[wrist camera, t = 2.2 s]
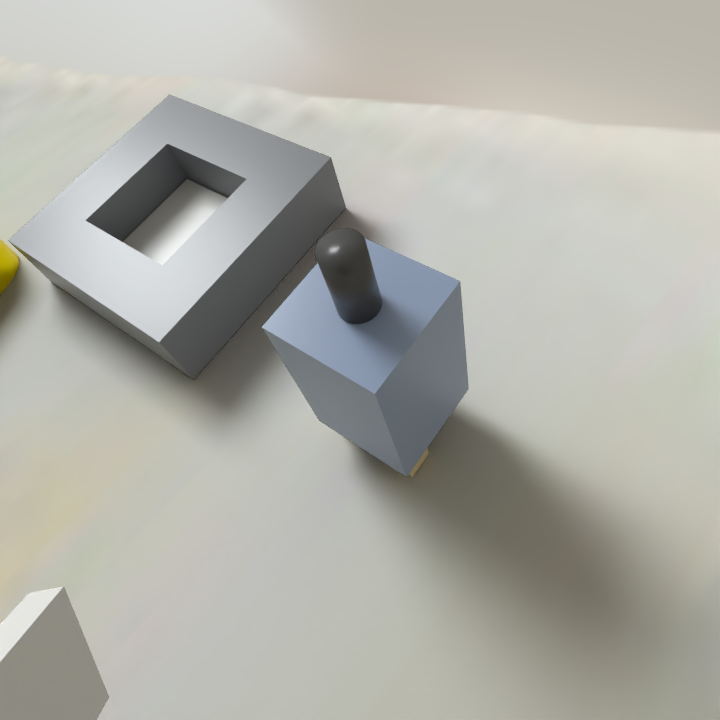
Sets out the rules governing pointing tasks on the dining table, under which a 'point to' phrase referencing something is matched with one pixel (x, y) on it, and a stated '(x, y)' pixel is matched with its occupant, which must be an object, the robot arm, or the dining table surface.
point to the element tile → (7, 265)
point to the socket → (184, 228)
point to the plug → (375, 346)
